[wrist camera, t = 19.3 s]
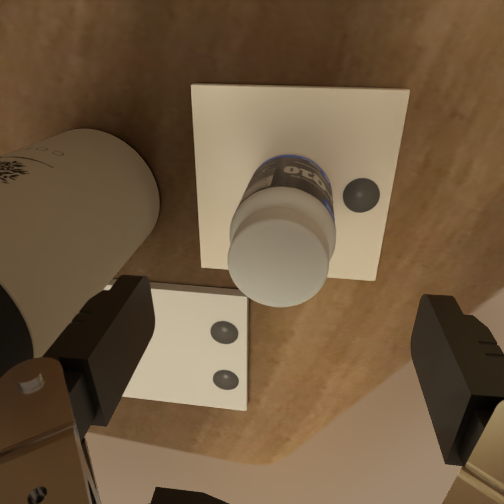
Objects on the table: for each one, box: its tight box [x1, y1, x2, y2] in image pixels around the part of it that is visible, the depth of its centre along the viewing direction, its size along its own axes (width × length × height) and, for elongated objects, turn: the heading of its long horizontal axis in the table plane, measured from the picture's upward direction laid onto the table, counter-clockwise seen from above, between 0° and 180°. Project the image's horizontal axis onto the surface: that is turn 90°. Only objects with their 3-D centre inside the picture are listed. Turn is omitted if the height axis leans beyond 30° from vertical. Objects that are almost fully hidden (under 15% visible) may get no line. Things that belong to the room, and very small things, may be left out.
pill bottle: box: [227, 154, 336, 307], centre depth 19 cm, size 5×5×8 cm
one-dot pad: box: [191, 83, 410, 281], centre depth 23 cm, size 11×11×1 cm
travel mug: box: [0, 129, 160, 378], centre depth 17 cm, size 8×8×18 cm
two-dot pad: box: [103, 279, 249, 411], centre depth 30 cm, size 11×11×1 cm
